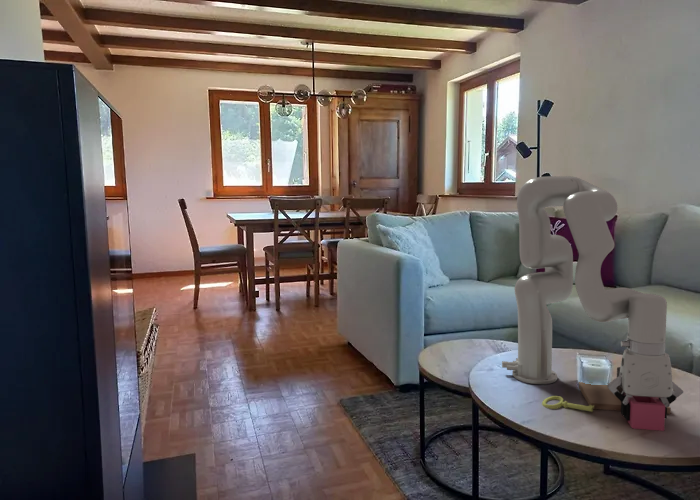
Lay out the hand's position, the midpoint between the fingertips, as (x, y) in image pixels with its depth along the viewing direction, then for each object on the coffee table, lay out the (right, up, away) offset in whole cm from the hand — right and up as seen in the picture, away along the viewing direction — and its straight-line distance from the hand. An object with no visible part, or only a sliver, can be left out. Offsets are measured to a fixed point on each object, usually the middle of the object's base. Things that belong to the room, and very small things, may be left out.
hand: (643, 418), depth 113 cm
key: (-14, -1, +10) cm, 17 cm away
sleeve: (0, -1, 0) cm, 1 cm away
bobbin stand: (+2, +1, +13) cm, 13 cm away
